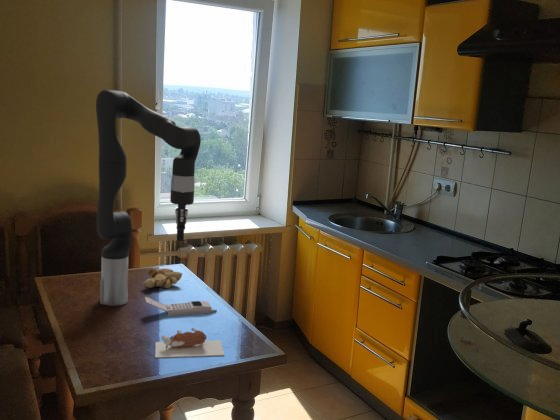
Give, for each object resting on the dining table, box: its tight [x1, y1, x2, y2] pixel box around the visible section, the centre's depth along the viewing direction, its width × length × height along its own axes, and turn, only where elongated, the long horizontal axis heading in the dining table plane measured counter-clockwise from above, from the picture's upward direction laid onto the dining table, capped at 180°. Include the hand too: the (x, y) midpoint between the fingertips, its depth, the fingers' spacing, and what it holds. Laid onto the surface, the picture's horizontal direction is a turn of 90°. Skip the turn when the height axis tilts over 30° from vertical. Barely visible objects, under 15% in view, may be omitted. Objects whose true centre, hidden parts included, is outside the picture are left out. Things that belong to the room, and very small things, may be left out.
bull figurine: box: [161, 327, 207, 349], centre depth 163 cm, size 4×13×8 cm
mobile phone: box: [144, 296, 218, 317], centre depth 189 cm, size 6×6×25 cm
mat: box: [154, 339, 225, 359], centre depth 162 cm, size 20×10×1 cm, turn 102°
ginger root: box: [142, 267, 183, 289], centre depth 217 cm, size 16×16×8 cm
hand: (180, 240), depth 178 cm, fingers closed
